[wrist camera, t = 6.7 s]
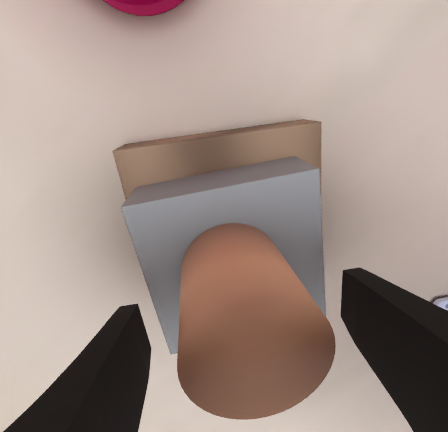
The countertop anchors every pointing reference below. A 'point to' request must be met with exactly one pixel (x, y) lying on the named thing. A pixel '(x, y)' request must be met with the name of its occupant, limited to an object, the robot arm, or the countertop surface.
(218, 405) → the cylinder
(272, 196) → the tower top
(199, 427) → the countertop surface
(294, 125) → the tower base
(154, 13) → the pepper mill
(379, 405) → the countertop surface
